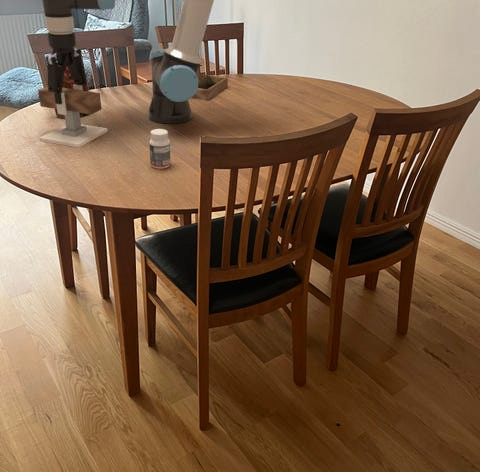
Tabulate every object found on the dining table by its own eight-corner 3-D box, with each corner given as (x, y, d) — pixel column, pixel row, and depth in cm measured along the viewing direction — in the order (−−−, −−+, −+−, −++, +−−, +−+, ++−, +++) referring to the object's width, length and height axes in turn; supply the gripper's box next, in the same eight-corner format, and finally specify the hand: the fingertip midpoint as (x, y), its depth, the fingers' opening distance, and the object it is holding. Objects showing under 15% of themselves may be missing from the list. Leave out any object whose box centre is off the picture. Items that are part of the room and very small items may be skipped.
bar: (101, 109, 156) (99, 93, 154) (91, 114, 152) (89, 97, 149) (51, 101, 161) (49, 85, 158) (40, 106, 156) (37, 90, 154)
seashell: (206, 83, 221) (209, 68, 216) (220, 92, 217) (224, 77, 212) (178, 89, 210) (181, 73, 205) (193, 99, 206) (196, 83, 202)
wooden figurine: (62, 121, 172) (54, 66, 163) (53, 116, 176) (45, 63, 167) (93, 114, 180) (87, 62, 170) (84, 110, 183) (78, 58, 174)
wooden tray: (227, 87, 218) (227, 77, 216) (208, 100, 200) (208, 90, 198) (195, 83, 222) (195, 73, 220) (173, 95, 204) (173, 85, 202)
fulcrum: (107, 131, 166) (105, 104, 161) (79, 147, 153) (75, 118, 148) (70, 125, 169) (67, 98, 165) (40, 140, 156) (35, 112, 151)
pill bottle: (151, 161, 146) (149, 127, 141) (171, 161, 146) (170, 128, 141) (149, 169, 141) (147, 135, 136) (170, 169, 142) (169, 135, 136)
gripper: (71, 25, 155) (80, 99, 166) (25, 36, 137) (38, 118, 149) (93, 27, 153) (100, 102, 164) (48, 39, 135) (60, 121, 147)
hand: (71, 109), depth 157 cm, fingers open, 8 cm apart
